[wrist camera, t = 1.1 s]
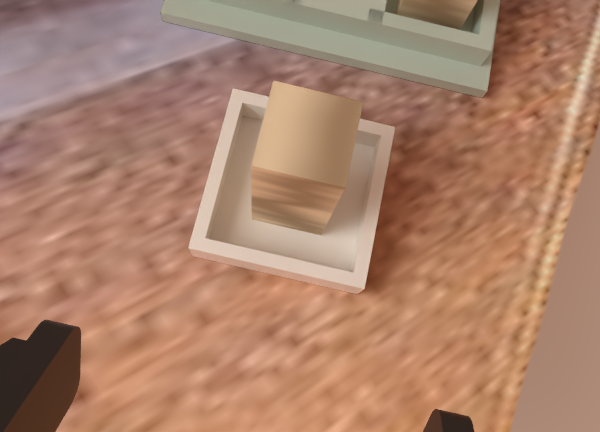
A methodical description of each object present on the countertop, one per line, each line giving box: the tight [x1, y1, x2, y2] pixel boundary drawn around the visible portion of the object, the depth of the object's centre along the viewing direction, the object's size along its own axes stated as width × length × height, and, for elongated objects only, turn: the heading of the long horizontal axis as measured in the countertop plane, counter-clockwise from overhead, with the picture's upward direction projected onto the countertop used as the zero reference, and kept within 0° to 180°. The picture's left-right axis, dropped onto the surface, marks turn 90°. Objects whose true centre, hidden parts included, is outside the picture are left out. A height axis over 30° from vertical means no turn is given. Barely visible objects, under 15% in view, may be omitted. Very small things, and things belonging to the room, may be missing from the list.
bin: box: [188, 88, 395, 294], centre depth 36 cm, size 11×11×2 cm
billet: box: [251, 81, 363, 235], centre depth 32 cm, size 4×5×10 cm
